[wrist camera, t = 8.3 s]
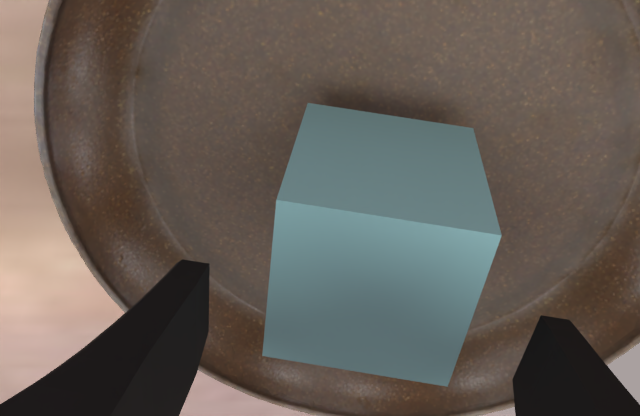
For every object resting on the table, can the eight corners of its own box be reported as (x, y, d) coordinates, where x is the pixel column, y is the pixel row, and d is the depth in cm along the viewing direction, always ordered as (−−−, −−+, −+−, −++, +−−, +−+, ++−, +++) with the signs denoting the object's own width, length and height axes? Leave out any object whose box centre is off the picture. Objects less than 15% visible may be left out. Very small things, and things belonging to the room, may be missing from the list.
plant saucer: (60, -313, 14) (-22, -349, 11) (885, -131, 14) (1003, -123, 12) (91, 304, 25) (54, 362, 23) (551, 400, 26) (571, 469, 23)
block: (292, 236, 18) (262, 356, 14) (308, 102, 16) (276, 199, 12) (435, 259, 18) (447, 386, 14) (472, 127, 16) (501, 235, 11)
